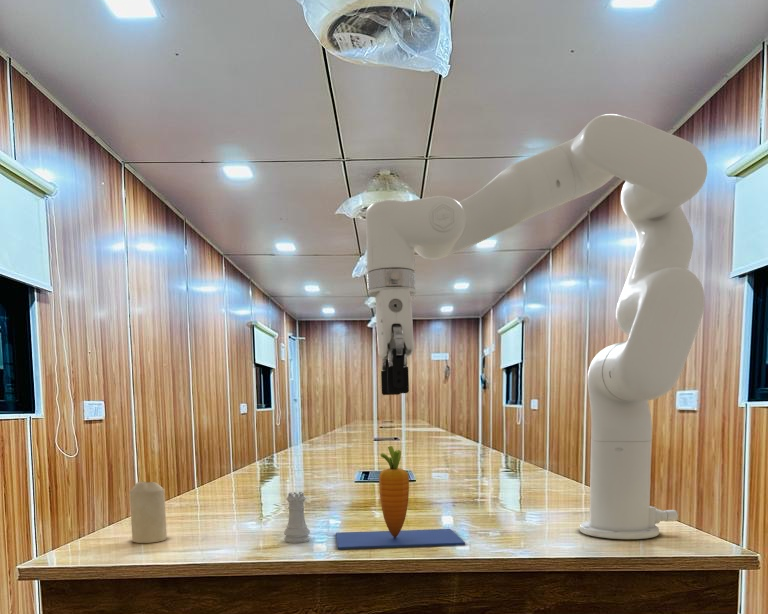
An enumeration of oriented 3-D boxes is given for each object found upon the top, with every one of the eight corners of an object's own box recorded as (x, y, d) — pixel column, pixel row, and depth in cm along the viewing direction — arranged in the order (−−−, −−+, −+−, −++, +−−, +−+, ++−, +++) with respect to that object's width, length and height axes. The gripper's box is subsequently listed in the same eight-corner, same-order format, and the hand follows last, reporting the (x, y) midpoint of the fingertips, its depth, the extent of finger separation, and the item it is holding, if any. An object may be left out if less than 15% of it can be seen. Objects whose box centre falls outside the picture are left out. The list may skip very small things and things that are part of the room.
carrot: (407, 540, 105) (406, 447, 104) (376, 540, 106) (375, 447, 105) (412, 534, 110) (411, 445, 109) (383, 534, 111) (381, 445, 110)
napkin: (450, 531, 115) (450, 528, 115) (465, 545, 103) (465, 542, 103) (336, 534, 113) (335, 532, 113) (337, 549, 102) (337, 547, 101)
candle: (173, 538, 113) (170, 480, 112) (150, 544, 108) (146, 483, 107) (149, 536, 115) (146, 479, 114) (125, 542, 110) (121, 482, 109)
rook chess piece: (316, 540, 109) (315, 492, 108) (295, 544, 106) (293, 495, 105) (299, 537, 112) (297, 490, 111) (278, 541, 109) (276, 493, 108)
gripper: (423, 273, 96) (426, 392, 98) (407, 294, 113) (410, 394, 115) (372, 274, 95) (376, 393, 97) (364, 294, 112) (367, 395, 114)
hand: (394, 394), depth 106 cm, fingers open, 9 cm apart
